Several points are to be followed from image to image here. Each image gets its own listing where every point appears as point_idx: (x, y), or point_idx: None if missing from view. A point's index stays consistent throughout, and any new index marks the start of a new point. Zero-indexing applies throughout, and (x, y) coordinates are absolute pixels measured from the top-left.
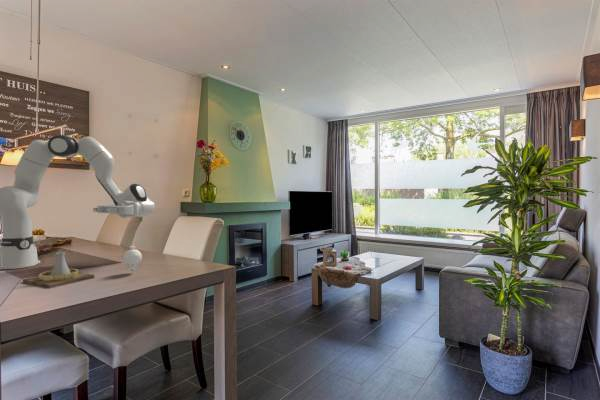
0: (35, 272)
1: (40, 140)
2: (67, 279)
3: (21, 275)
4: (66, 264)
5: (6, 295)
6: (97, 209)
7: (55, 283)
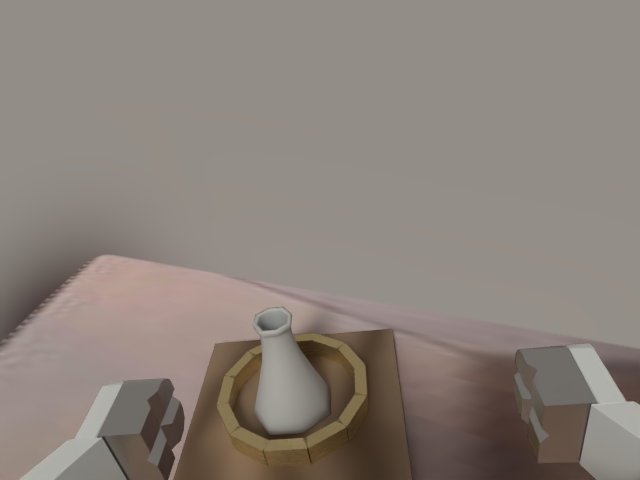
0: None
1: None
2: None
3: None
4: (268, 380)
5: (268, 284)
6: (534, 412)
7: (214, 356)
